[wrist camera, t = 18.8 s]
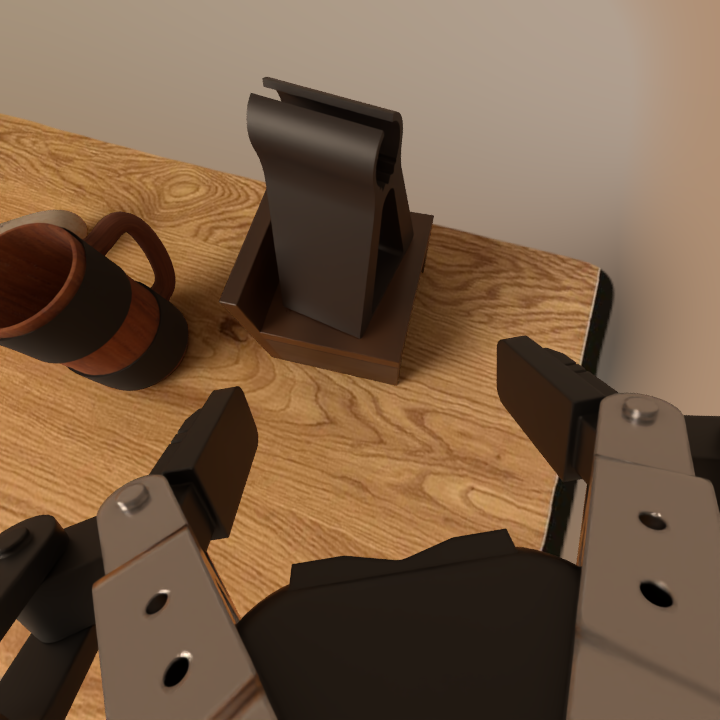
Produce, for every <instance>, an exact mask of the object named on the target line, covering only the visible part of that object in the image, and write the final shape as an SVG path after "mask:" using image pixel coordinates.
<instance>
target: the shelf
mask: <svg viewBox="0 0 720 720" xmlns="http://www.w3.org/2000/svg"><path fill="white" fill-rule="evenodd" d="M410 216H411V221H412V226H413V232H414V236H413V239H412V241H411V243H410V245H409V247H408V249H407V251H406V253H405V255H404V257H403V259H402V261H401V263H400V265H399V266H398V268H397V270H396V272H395V274H394V276H393V278H392V280H391V282H390V284H389V285H388V287H387V290H386V292H385V294H384V296H383V298H382V299H381V301H380V303H379V305H378V307H377V309H376V311H375V313H374V315H373V317H372V319H371V321H370V323H369V325H368V327H367V329H366V330H365V332H364V334H363V336H362V338H361V339H359V338H357V337H354V336H352V335H350V334H347V333H345V332H342V331H340V330H338V329H335V328H333V327H331V326H328V325H326V324H324V323H321V322H319V321H317V320H314V319H312V318H310V317H307V316H305V315H303V314H300V313H298V312H295V311H293V310H291V309H288V308H286V307H284V306H283V302H282V295H281V288H280V281H279V273H278V266H277V259H276V252H275V245H274V238H273V231H272V224H271V217H270V209H269V202H268V195H267V189H266V191H265V193H264V196H263V198H262V200H261V203H260V205H259V208H258V210H257V212H256V215H255V217H254V219H253V222H252V224H251V227H250V229H249V231H248V234H247V236H246V238H245V241H244V243H243V245H242V248H241V250H240V253H239V255H238V257H237V260H236V262H235V264H234V267H233V269H232V272H231V274H230V276H229V279H228V281H227V283H226V286H225V288H224V290H223V293H222V295H221V298H220V300H219V302H220V303H221V305H222V306H223V307H224V308H225V309H226V310H227V311H228V312H229V313H230V314H231V315H232V316H233V317H234V318H235V319H236V320H237V321H238V322H239V323H240V324H241V325H242V326H243V327H244V328H245V329H246V330H247V331H248V333H249V334H250V335H251V336H252V337H253V338H254V339H255V340H256V341H257V342H258V343H259V344H260V345H261V346H262V347H263V348H264V349H265V350H266V351H267V352H268V353H269V354H270V355H271V356H272V357H274V358H279V359H283V360H287V361H292V362H296V363H300V364H305V365H309V366H313V367H318V368H322V369H326V370H331V371H335V372H340V373H344V374H348V375H353V376H357V377H361V378H366V379H370V380H374V381H379V382H383V383H387V384H392V385H397V384H398V379H399V375H400V368H401V359H402V352H403V348H404V344H405V339H406V335H407V331H408V326H409V322H410V318H411V314H412V309H413V305H414V301H415V297H416V292H417V288H418V284H419V280H420V275H421V272H422V273H423V272H424V267H425V263H426V258H427V252H428V246H429V241H430V235H431V229H432V223H433V218H434V216H433V215H427V214H421V213H414V212H410Z"/></svg>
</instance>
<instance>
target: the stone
mask: <svg viewBox="0 0 720 720" xmlns="http://www.w3.org/2000/svg"><path fill="white" fill-rule="evenodd" d="M30 223H48V224H53V225H56V226H59V227H63V228H66V229H68V230H70V231H71V232H73V233H74V234H76V235H77V236H78V237H80V238H81V239H84V238H86V235H87V227H86V224H85V222H84V221H83V219H82V218H81V217H79V216H78V215H76V214H74V213H72V212H70V211H65V210H48V211H42V212H37V213H33V214H29V215H26V216H23V217H19V218H16V219H13V220H10V221H7V222H4V223H1V224H0V234H1V233H3V232H5V231H7V230H10V229H12V228H14V227H18V226H21V225H25V224H30Z"/></svg>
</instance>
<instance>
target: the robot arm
mask: <svg viewBox="0 0 720 720" xmlns="http://www.w3.org/2000/svg"><path fill="white" fill-rule="evenodd" d="M497 391H498V395H499V398H500V400H501V402H502V404H503V405H504V407H505V408H506V409H507V411H508V412H509V413H510V414H511V416H512V417H513V418H514V420H515V421H516V422H517V423H518V425H519V426H520V427H521V428H522V430H523V431H524V432H525V434H526V435H527V436H528V437H529V439H530V440H531V441H532V443H533V444H534V445H535V446H536V448H537V449H538V450H539V452H540V453H541V454H542V455H543V457H544V458H545V459H546V461H547V462H548V463H549V464H550V466H551V467H552V468H553V469H554V471H555V472H556V473H557V475H558V476H559V477H560V478H561V480H562V481H563V482H567V481H572V480H578V479H583V480H584V481H585V482H586V483H587V488H586V494H585V502H584V510H583V517H582V525H581V533H580V541H579V548H578V556H577V563H576V565H575V564H573V563H571V562H569V561H567V560H565V559H562V558H560V557H557V556H555V555H552V554H549V553H545V552H542V551H539V550H534V549H529V548H524V547H515V545H514V543H513V541H512V539H511V537H510V535H509V533H508V531H507V529H501V530H495V531H489V532H483V533H477V534H471V535H465V536H459V537H453V538H451V539H448V540H446V541H444V542H442V543H439V544H437V545H435V546H433V547H430V548H428V549H426V550H424V551H421V552H419V553H417V554H415V555H412V556H410V557H408V558H406V559H403V560H387V559H376V558H364V557H353V556H339V557H333V558H327V559H321V560H315V561H309V562H303V563H297V564H292V568H291V576H290V584H289V585H286V586H284V587H282V588H280V589H279V590H277V591H275V592H274V593H272V594H270V595H269V596H267V597H266V598H265V599H263V600H262V601H261V602H259V603H258V604H257V605H256V606H254V607H253V608H252V609H251V610H250V611H249V612H248V613H246V614H245V616H244V617H243V618H242V619H241V617H240V615H239V613H238V612H237V610H236V608H235V606H234V604H233V602H232V600H231V598H230V596H229V594H228V592H227V590H226V588H225V586H224V584H223V582H222V580H221V578H220V576H219V574H218V572H217V570H216V568H215V566H214V564H213V562H212V560H211V558H210V556H209V554H208V552H207V548H208V546H209V543H210V540H216V539H222V538H228V537H229V535H230V532H231V529H232V525H233V522H234V519H235V516H236V513H237V510H238V506H239V503H240V500H241V497H242V494H243V491H244V487H245V484H246V481H247V478H248V475H249V472H250V469H251V465H252V462H253V459H254V456H255V453H256V450H257V446H258V432H257V427H256V425H255V422H254V419H253V416H252V414H251V411H250V408H249V406H248V403H247V400H246V398H245V395H244V393H243V391H242V389H241V388H240V387H239V386H236V387H231V388H225V389H220V390H214V391H213V392H212V393H211V395H210V396H209V398H208V399H207V401H206V403H205V404H204V406H203V407H202V409H198V410H197V411H196V412H195V413H193V414H192V415H191V416H190V417H189V418H187V419H186V420H185V422H184V423H183V425H182V426H181V428H180V429H179V431H178V434H176V435H175V437H174V438H173V440H172V441H171V444H169V445H168V447H167V448H166V450H165V451H164V453H163V454H162V456H161V457H160V459H159V460H158V462H157V463H156V465H155V466H154V468H153V469H152V471H151V472H150V474H149V475H147V476H143V477H140V478H137V479H135V480H133V481H131V482H129V483H127V484H125V485H123V486H122V487H120V488H119V489H118V490H116V491H115V492H114V493H112V494H111V495H110V496H109V497H108V498H107V499H106V500H105V501H104V502H103V504H102V505H101V507H100V508H99V510H98V513H97V516H95V517H93V518H90V519H88V520H85V521H83V522H80V523H77V524H75V525H72V526H70V527H67V528H65V529H63V528H62V527H61V525H60V524H59V523H58V522H57V520H56V519H55V518H54V517H53V516H51V515H39V516H35V517H32V518H29V519H26V520H24V521H22V522H20V523H18V524H16V525H14V526H12V527H10V528H8V529H7V530H5V531H4V532H2V533H1V534H0V641H1V640H2V639H3V637H4V636H5V634H6V633H7V632H8V630H9V629H10V627H11V626H12V624H13V623H14V622H15V620H16V619H17V620H18V621H19V622H20V623H21V624H22V625H23V626H25V627H26V628H27V629H28V630H29V631H30V632H31V634H30V636H29V638H28V639H27V641H26V642H25V644H24V645H23V647H22V648H21V650H20V651H19V653H18V655H17V656H16V658H15V659H14V661H13V662H12V664H11V665H10V667H9V668H8V670H7V671H6V673H5V675H4V676H3V678H2V679H1V681H0V720H65V718H66V716H67V714H68V712H69V710H70V708H71V706H72V703H73V701H74V699H75V697H76V695H77V693H78V691H79V689H80V687H81V685H82V683H83V680H84V678H85V676H86V674H87V672H88V670H89V668H90V666H91V664H92V662H93V660H94V657H95V655H96V653H97V651H98V649H99V658H100V668H101V677H102V686H103V695H104V704H105V713H106V720H720V416H690V415H688V416H687V415H683V414H682V413H681V411H680V410H679V409H678V408H676V407H675V406H673V405H672V404H670V403H668V402H666V401H664V400H662V399H659V398H656V397H653V396H649V395H644V394H638V393H637V394H636V393H618V392H617V391H615V390H614V389H613V388H611V387H610V386H608V385H607V384H606V383H604V382H603V381H601V380H600V379H599V378H597V377H596V376H594V375H593V374H592V373H590V372H589V371H588V372H586V369H584V368H583V367H582V366H580V365H579V364H576V362H575V361H573V360H572V359H570V358H569V357H568V356H566V355H565V354H563V353H560V352H557V351H554V350H552V349H549V348H542V347H541V346H540V345H538V344H537V343H536V342H534V341H533V340H532V339H530V338H529V337H528V336H519V337H513V338H508V339H502V340H499V342H498V344H497Z"/></svg>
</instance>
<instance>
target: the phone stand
mask: <svg viewBox="0 0 720 720" xmlns="http://www.w3.org/2000/svg"><path fill="white" fill-rule="evenodd" d="M263 85H264V87H267V88H271V89H275V90H276V91H277V92H278V94H279V96H280V98H281V101H278V100H274V99H271V98H267V97H263V96H260V95H256V94H253V93H251V94H250V97H249V101H248V107H247V129H248V135H249V138H250V141H251V144H252V146H253V148H254V149H255V151H256V153H257V155H258V157H259V159H260V162H261V164H262V167H263V171H264V175H265V181H266V188H267V195H268V202H269V209H270V217H271V224H272V231H273V238H274V245H275V252H276V259H277V266H278V273H279V281H280V288H281V295H282V302H283V306H284V307H286V308H288V309H291V310H293V311H295V312H298V313H300V314H303V315H305V316H307V317H310V318H312V319H314V320H317V321H319V322H321V323H324V324H326V325H328V326H331V327H333V328H335V329H338V330H340V331H342V332H345V333H347V334H350V335H352V336H354V337H357V338H359V339H361V338H362V336H363V334H364V332H365V330H366V329H367V327H368V325H369V323H370V321H371V319H372V317H373V315H374V313H375V311H376V309H377V307H378V305H379V303H380V301H381V299H382V298H383V296H384V294H385V292H386V290H387V287H388V285H389V284H390V282H391V280H392V278H393V276H394V274H395V272H396V270H397V268H398V266H399V265H400V263H401V261H402V259H403V257H404V255H405V253H406V251H407V249H408V247H409V245H410V243H411V241H412V239H413V236H414V232H413V226H412V221H411V216H410V210H409V205H408V200H407V195H406V189H405V184H404V179H403V174H402V168H401V144H402V135H403V121H402V117H401V114H400V113H399V112H396V111H392V110H388V109H385V108H381V107H377V106H373V105H370V104H366V103H362V102H359V101H355V100H351V99H348V98H344V97H340V96H337V95H333V94H329V93H326V92H322V91H318V90H314V89H311V88H307V87H303V86H300V85H296V84H292V83H288V82H285V81H281V80H277V79H274V78H270V77H265V78H263Z"/></svg>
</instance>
